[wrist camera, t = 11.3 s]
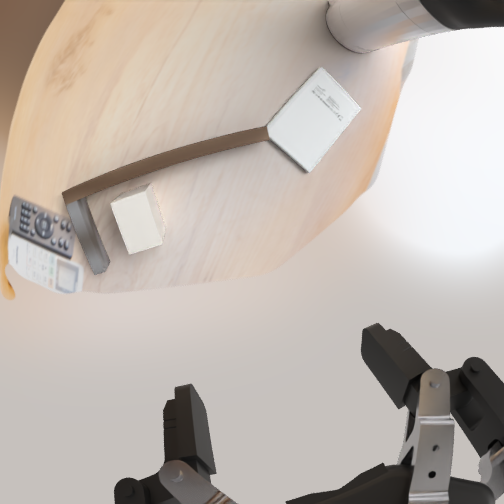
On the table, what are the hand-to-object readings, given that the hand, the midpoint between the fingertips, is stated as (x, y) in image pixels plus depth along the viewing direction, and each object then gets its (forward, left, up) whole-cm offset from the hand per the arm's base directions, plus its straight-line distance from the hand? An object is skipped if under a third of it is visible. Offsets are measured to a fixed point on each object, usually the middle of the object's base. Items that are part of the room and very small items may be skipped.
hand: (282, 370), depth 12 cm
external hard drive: (-9, +15, -27) cm, 33 cm away
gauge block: (-3, -8, -26) cm, 28 cm away
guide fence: (-4, -5, -26) cm, 27 cm away
